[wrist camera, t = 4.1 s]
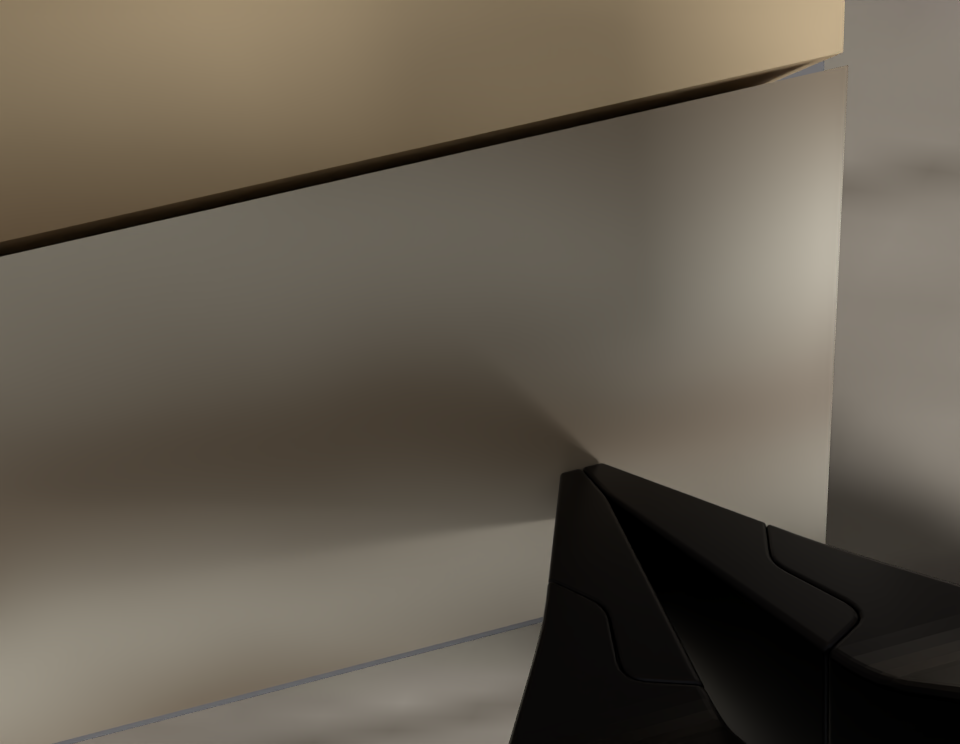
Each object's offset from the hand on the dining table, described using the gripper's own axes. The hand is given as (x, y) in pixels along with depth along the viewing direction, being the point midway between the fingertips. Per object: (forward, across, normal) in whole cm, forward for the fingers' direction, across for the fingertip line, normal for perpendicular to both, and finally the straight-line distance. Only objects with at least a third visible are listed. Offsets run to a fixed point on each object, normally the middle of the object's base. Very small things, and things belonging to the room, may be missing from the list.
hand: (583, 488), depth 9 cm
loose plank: (+1, +5, -2) cm, 5 cm away
